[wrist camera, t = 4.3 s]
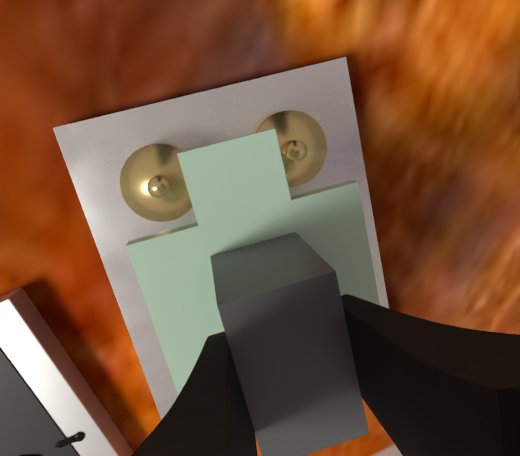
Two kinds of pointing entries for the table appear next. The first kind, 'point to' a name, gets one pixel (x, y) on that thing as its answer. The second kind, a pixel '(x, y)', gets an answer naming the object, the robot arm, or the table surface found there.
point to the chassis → (173, 183)
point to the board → (234, 218)
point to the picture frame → (46, 392)
